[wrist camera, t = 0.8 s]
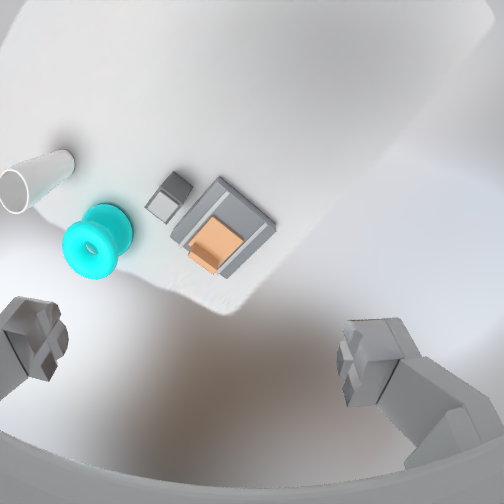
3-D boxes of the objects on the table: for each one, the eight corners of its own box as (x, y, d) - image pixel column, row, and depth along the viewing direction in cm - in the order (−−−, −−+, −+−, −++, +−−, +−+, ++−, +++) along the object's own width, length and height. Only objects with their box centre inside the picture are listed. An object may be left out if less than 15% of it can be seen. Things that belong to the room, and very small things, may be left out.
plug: (159, 189, 48) (143, 209, 41) (173, 171, 47) (159, 187, 39) (178, 204, 50) (165, 226, 42) (192, 186, 48) (182, 205, 41)
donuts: (49, 233, 41) (98, 218, 40) (77, 209, 49) (123, 195, 48) (75, 286, 45) (124, 277, 44) (97, 257, 54) (142, 246, 53)
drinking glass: (43, 159, 44) (-10, 186, 31) (66, 137, 43) (12, 158, 30) (61, 188, 47) (13, 223, 34) (85, 168, 46) (36, 198, 33)
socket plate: (173, 229, 52) (168, 238, 48) (218, 176, 47) (216, 182, 44) (227, 269, 56) (226, 281, 52) (274, 223, 51) (276, 232, 48)
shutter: (188, 242, 49) (184, 253, 46) (212, 214, 47) (210, 224, 44) (218, 264, 51) (216, 277, 48) (243, 239, 49) (243, 250, 46)
